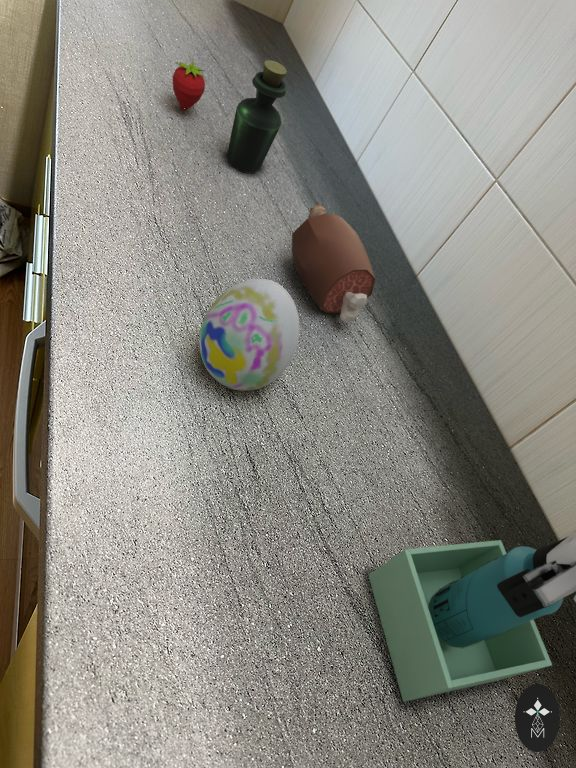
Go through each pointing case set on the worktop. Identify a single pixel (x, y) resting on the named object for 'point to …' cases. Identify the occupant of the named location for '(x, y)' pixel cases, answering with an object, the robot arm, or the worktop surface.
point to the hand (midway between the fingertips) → (532, 581)
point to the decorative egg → (250, 335)
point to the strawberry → (188, 85)
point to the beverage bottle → (486, 599)
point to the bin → (417, 633)
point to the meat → (332, 264)
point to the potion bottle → (257, 120)
